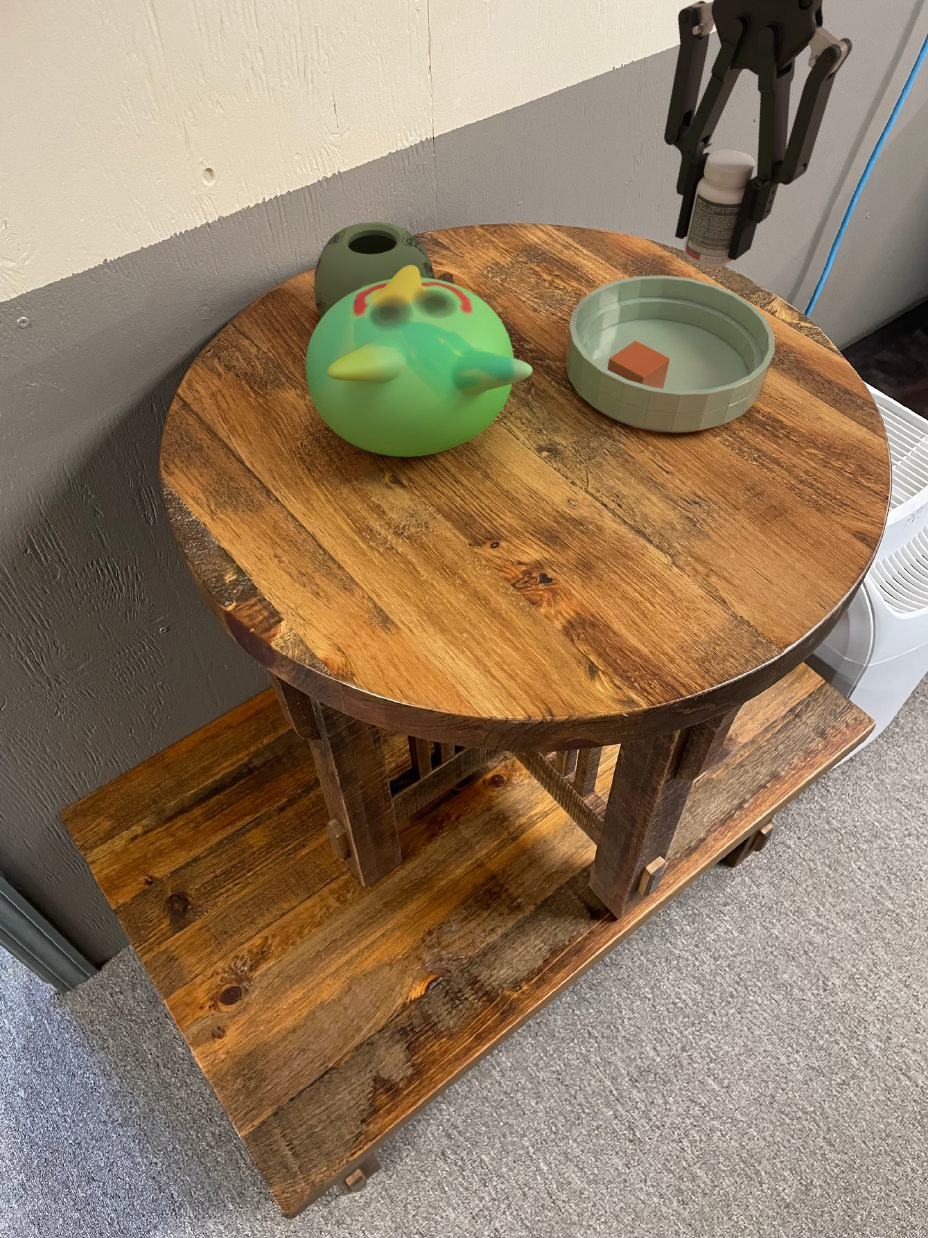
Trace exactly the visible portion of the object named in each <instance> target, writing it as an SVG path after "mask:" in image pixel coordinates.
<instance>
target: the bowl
mask: <svg viewBox="0 0 928 1238" xmlns="http://www.w3.org/2000/svg"><path fill="white" fill-rule="evenodd" d="M567 334H568V335H567V344H566V352H565V359H564V360H565V361H564V364H565V369H566V373H567V374H566V375H567V378H568V380H569V382H570V383H571V385H572V386H573V388H574V389H575V391H576V393H577V394H578V395H579V397H581V398H582V399H584V400H585V401H586V402H587V403H588V404H590V405H591V406H592V407H593V408H594V409H595V410H597V411H599V412H600V413H602V414H604V415H605V416H607V417H609V418H610V419H613V420H614V421H617V422H619V423H622V424H625V425H627V426H630V427H633V428H637V429H642V430H645V431H651V432H657V433H658V432H659V433H669V434H675V433H676V434H679V433H680V434H681V433H682V434H683V433H694V432H700V431H704V430H708V429H712V428H715V427H719V426H723V425H725V424H728V423H730V422H731V421H734V420H735V419H737V418H740V417H742V416H743V415H745V413H746V412H747V411H749V409H751V408H752V407H753V406H754V405H755V404H756V403H757V401H758V400H759V397H760V394H761V392H762V390H763V389H764V385H765V382H766V379H767V377H768V373H769V370H770V367H771V365H772V361H773V359H774V355H775V352H776V341H775V340H776V339H775V332H774V331H773V329H772V327H771V325H770V323H769V321H768V319H767V318H766V317H765V316H764V315H763V314H762V313H761V312H760V311H759V310H758V309H757V308H756V306H755V305H753V304H752V303H751V302H749V301H747V300H745V299H744V298H743V297H742V296H739V294H737V293H735V292H733V291H730V290H728V289H726V288H723V287H721V286H718V285H716V284H713V283H710V282H706V281H702V280H699V279H695V278H690V277H682V276H673V275H663V274H662V275H638V276H633V277H628V278H622V279H616V280H614V281H611V282H609V283H606V284H603V285H601V286H598V287H597V288H595V289H594V290H592V291H591V292H589V293H588V294H587V295H585V296H584V297H582V298H581V299H580V301H579V302H578V303H577V305H576V306H575V308H574V309H573V310H572V313H571V316H570V321H569V327H568V333H567ZM634 341H637V342H639V343H641V344H643V345H645V346H647V347H649V348H651V349H653V350H655V351H656V352H658V353H660V354H662V355H664V356H666V357H668V358H670V360H669V365H668V369H667V374H666V378H665V383H664V387H663V388H656V387H651V386H647V385H644V384H640V383H637V382H634V381H630V380H627V379H625V378H623V377H621V376H619V375H617V374H615V373H613V372H611V371H609V370H607V369H608V363H609V358H611V357H612V356H614V355H615V354H617V353H618V352H620V351H621V350H623V349H624V348H625V347H627V346H628V345H630V344H631V343H633V342H634Z"/></svg>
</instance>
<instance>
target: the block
mask: <svg viewBox="0 0 928 1238" xmlns="http://www.w3.org/2000/svg"><path fill="white" fill-rule="evenodd" d="M669 360H670V358H668V357H666V356H664V355H662V354H660V353H658V352H656V351H655V350H653V349H651V348H649V347H647V346H645V345H643V344H641V343H639V342H637V341H634V342H633V343H631V344H630V345H628V346H627V347H625V348H624V349H623V350H621V351H620V352H618V353H617V354H615V355H614V356H612V357H611V358H609V363H608V369H607V370H609V371H611V372H613V373H615V374H617V375H619V376H621V377H623V378H625V379H627V380H630V381H634V382H637V383H640V384H644V385H647V386H651V387H656V388H663V387H664V383H665V378H666V374H667V369H668V365H669Z"/></svg>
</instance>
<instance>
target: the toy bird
mask: <svg viewBox="0 0 928 1238" xmlns="http://www.w3.org/2000/svg"><path fill="white" fill-rule="evenodd" d="M508 333H509V332H508V330H507V329H506V327H505V325H504V323H503V321H502V320H501V318H500V317H499V315H498V314H497V313H496V311H495V310H494V309H493V308H492V307H491V306H490V305H489V304H488V303H487V302H486V301H485V300H483V299H482V298H481V297H480V296H478V295H477V294H476V293H473V292H472V291H470V290H469V289H467V288H465V287H462V286H460V285H458V284H456V283H452V282H448V281H445V280H441V279H436V278H435V279H430V278H421V276H420V272H419V269H418V268H417V267H416V266H414V265H408V266H405V267H404V268H402V269H401V270H400V271H399V272H398V273H397V274H396V275H395V276H394V277H393V278H392V279H389V280H384V281H380V282H377V283H373V284H370V285H368V286H365V287H363V288H360V289H358V290H356V291H354V292H352V293H350V294H349V295H347V296H345V297H344V298H342V299H341V300H340V301H338V302H337V303H336V304H335V305H333V306H332V307H331V308H330V309H329V310H328V311H327V312H326V314H325V315H324V316H323V317H322V319H321V318H320V320H319V322H318V323H317V325H316V326H315V328H314V330H313V332H312V334H311V337H310V340H309V343H308V346H307V350H306V357H305V378H306V384H307V389H308V392H309V396H310V398H311V401H312V403H313V405H314V407H315V409H316V411H317V413H318V414H319V416H320V417H321V419H322V420H323V421H324V423H325V424H326V425H327V426H328V427H329V429H331V430H332V431H333V432H334V433H335V434H336V435H337V436H338V437H340V438H342V439H343V440H344V441H345V442H347V443H349V444H351V445H353V446H355V447H357V448H359V449H361V450H364V451H367V452H370V453H373V454H378V455H381V456H382V455H383V456H387V457H388V456H390V457H400V458H401V457H404V458H407V457H413V458H414V457H423V456H430V455H434V454H438V453H442V452H446V451H448V450H451V449H453V448H456V447H459V446H461V445H463V444H465V443H467V442H469V441H470V440H472V439H474V438H476V437H477V436H478V435H479V434H481V433H482V432H484V430H486V429H487V428H488V427H489V426H490V425H491V424H492V423H493V422H494V421H495V420H496V419H497V417H498V416H499V415H500V413H501V412H502V410H503V409H504V407H505V405H506V403H507V401H508V398H509V397H510V394H511V391H512V387H513V384H516V383H519V382H521V381H524V380H525V379H527V378H529V377H530V376H531V375H532V373H533V367H532V365H530V364H529V363H527V362H525V361H523V360H520V359H518V358H514V351H513V346H512V342H511V339H510V335H509V334H508Z"/></svg>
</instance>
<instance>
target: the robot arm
mask: <svg viewBox="0 0 928 1238" xmlns="http://www.w3.org/2000/svg"><path fill="white" fill-rule="evenodd" d="M823 1H824V0H713V1H710V2H706V1H704V0H699V1H697V2H695V3H692V4H690V5H688V6H686V7H684V8H682V9H681V10H680V11H679V12H678V15H677V21H678V34H679V47H678V48H679V49H678V55H677V61H676V66H675V72H674V78H673V82H672V89H671V95H670V99H669V105H668V111H667V116H666V117H667V118H666V122H665V123H666V124H665V129H664V133H663V134H664V135H663V136H664V137H663V140H664V142H665V144H666V145H667V146H674V147H675V148H676V149H677V150H678V151H679V153H680V156H681V160H680V166H679V171H678V176H677V181H676V194H677V195H680V196H682V199H681V205H680V210H679V213H678V218H677V224H676V229H675V235H674V237H675V238H677V239H680V240H683V239H685V238H687V233H688V228H689V223H690V219H691V214H692V209H693V204H694V199H695V194H696V189H697V185H698V183H699V181H700V180H701V179H702V178H703V177H704V168H705V165H706V161H707V157H708V156H709V154H711V153H712V152H708V151H706V152H704V151H705V150H707V148H709V147H711V146H712V144H713V143H712V142H711V139H712V137H713V135H714V133H715V131H716V128H717V125H718V124H719V121H720V118H721V116H722V115H723V113H724V110H725V107H726V106H727V103H728V101H729V98H730V96H731V94H732V92H733V90H734V88H735V85H736V83H737V80H738V79H739V76H740V74H741V73H742V71H743V70H749V72H751V73H753V74H754V75H756V76H757V90H758V91H757V92H759V94H760V96H759V97H760V99H759V100H760V101H759V119H758V120H759V123H758V126H759V127H758V141H757V143H758V144H757V167H756V175H755V176H754V177H752V179H751V180H750V181H748V182H747V183H746V186H745V190H744V194H743V198H742V202H741V206H740V210H739V214H738V218H737V222H736V226H735V230H734V234H733V238H732V242H731V245H730V249H729V253H728V257H727V258H730V259H732V260H734V261H736V260H738V259H739V258H740V257H742V256H743V255H744V254H745V253H747V252H748V251H750V250H751V249H752V245H753V242H754V238H755V234H756V230H757V227H758V225H759V224H760V223H762V222H763V221H764V220H766V219H767V218H768V217H769V215H770V214H771V213H772V209H773V205H774V201H775V198H776V195H777V192H778V187H779V185H780V184H782V185H784V186H788V185H790V184H791V183H793V182H795V181H796V180H797V179H799V178H800V177H802V176H803V175H804V174H805V173H807V170H808V168H809V164H810V161H811V159H812V158H811V157H812V155H813V151H814V148H815V145H816V141H817V138H818V134H819V131H820V128H821V126H822V122H823V118H824V115H825V111H826V108H827V105H828V102H829V98H830V96H831V92H832V89H833V85H834V82H835V78H836V75H837V74H838V73H839V70H840V69H841V67H842V66H843V64H844V63H845V61H846V60H847V59H848V57H849V55H850V54H851V52H852V50H853V43H852V41H851V40H850V38H848V37H843V38H841V39H838V38H837V37H835V36H834V35H833V34H832V33H830V32H829V31H828V30H827V29H825V28H824V27H823V25H824V16H823V15H824V14H823ZM714 27H715V29H716V34H717V36H718V39H719V43H720V48H719V50H718V53H717V55H716V57H715V60H714V62H713V65H712V67H711V71H710V73H711V76H710V77H709V81H708V83H707V85H706V88H705V90H704V93H703V95H702V97H701V99H700V102H699V104H698V99H699V95H700V90H701V84H702V79H703V74H704V69H705V64H706V59H707V54H708V48H709V42H710V34H711V32H712V31H713V28H714ZM808 46H809V47H810V55H809V58H808V63H807V64H808V67H809V68H811V70H810V71H809V73H808V75H807V77H806V79H805V82H804V85H803V87H802V91H801V95H800V99H799V102H798V106H797V110H796V113H795V116H794V121H793V124H792V128H791V131H790V135H789V138H788V129H789V116H790V115H789V114H790V113H789V112H790V98H791V84H792V82H793V80H794V78H795V69H796V58H797V57H798V56H799V55H800V54H801V53H802V52H803V51H804V50H805V49H806V48H807V47H808ZM697 105H698V107H697Z"/></svg>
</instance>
